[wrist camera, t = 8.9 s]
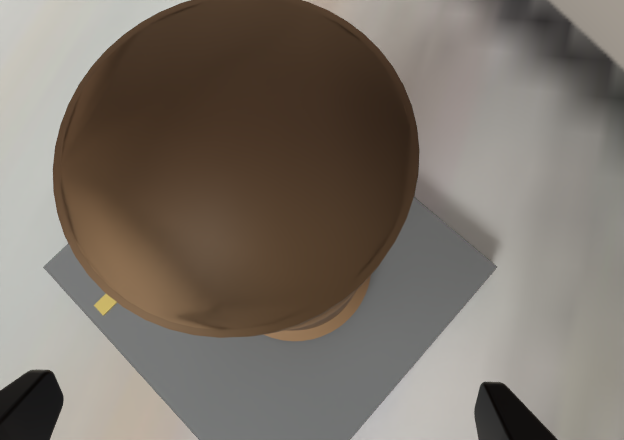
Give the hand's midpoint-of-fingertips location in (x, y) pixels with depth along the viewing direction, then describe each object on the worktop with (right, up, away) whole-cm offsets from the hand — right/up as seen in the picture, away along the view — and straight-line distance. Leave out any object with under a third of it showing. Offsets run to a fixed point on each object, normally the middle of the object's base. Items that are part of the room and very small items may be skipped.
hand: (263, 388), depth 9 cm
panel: (-1, +1, +10) cm, 10 cm away
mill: (0, +2, +9) cm, 9 cm away
